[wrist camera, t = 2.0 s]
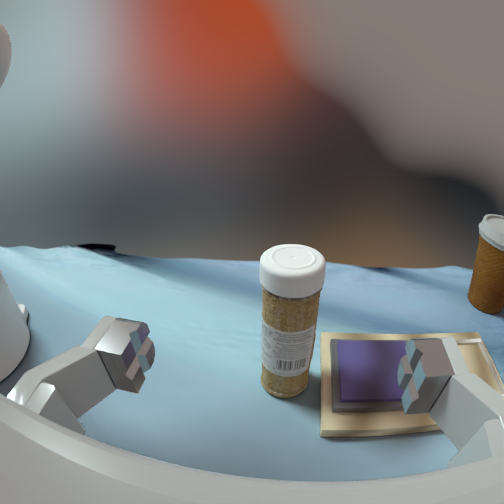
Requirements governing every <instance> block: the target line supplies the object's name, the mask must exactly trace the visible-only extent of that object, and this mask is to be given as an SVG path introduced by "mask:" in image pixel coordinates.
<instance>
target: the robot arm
mask: <svg viewBox="0 0 504 504" xmlns="http://www.w3.org/2000/svg"><path fill="white" fill-rule="evenodd" d="M10 61H11V42H10V39H9V35H8V33H7V31H6V29H5V28H4V26H3V25H2V24H1V23H0V88H1V86H2V84H3V82H4V80H5V78H6V76H7V73H8V70H9V66H10ZM27 316H28V310H27V309H26V307H25V305H22V304H17V302H16V300H15V299H14V297H13V295H12V293H11V291H10V289H9V287H8V285H7V283H6V281H5V279H4V277H3V275H2V273H1V271H0V381H2V380H3V379H4V378H6V377H7V376H8V375H9V374H10V373H11V372H12V371H13V370H14V369H15V368H16V367H17V365H18V364H19V363H20V361H21V360H22V358H23V357H24V355H25V353H26V350H27V348H28V345H29V339H30V334H29V329H28V327H27V324H26V320H27ZM149 332H150V331H149V328H148V325H147V324H146V323H144V322H139V321H133V320H128V319H123V318H116V317H111V316H105V317H103V318H102V319H101V320H100V322H99V323H98V324H97V326H96V327H95V328H94V329H93V331H92V332H91V333H90V335H89V336H88V337H87V339H86V340H85V341H84V343H83V344H82V345H81V346H78V345H77V346H75V347H73V348H72V349H70V350H68V351H66V352H64V353H62V354H60V355H58V356H56V357H54V358H52V359H50V360H48V361H46V362H44V363H42V364H40V365H38V366H36V367H34V368H32V369H30V370H28V371H26V372H25V373H24V374H23V375H22V377H21V378H20V379H19V381H18V382H17V383H16V385H15V386H14V388H13V389H12V390H11V392H10V393H9V394H8V396H7V397H5V396H4V395H2V394H0V504H504V397H503V396H502V395H500V394H499V393H498V392H497V391H495V390H494V389H493V388H492V387H491V386H489V385H488V384H487V383H486V382H484V381H483V380H482V379H481V378H479V377H478V376H477V375H475V374H474V373H470V372H469V370H468V368H467V365H466V363H465V361H464V358H463V356H462V354H461V352H460V349H459V347H458V345H457V343H456V341H455V339H454V338H453V337H439V338H421V339H410V340H409V341H408V342H407V345H406V347H405V349H406V353H407V354H406V355H405V356H403V357H402V358H401V360H400V363H399V366H398V373H397V376H398V384H399V387H400V388H401V389H402V390H403V391H404V393H403V395H402V397H401V399H402V403H403V408H404V413H405V415H406V414H421V413H429V415H430V417H431V418H432V419H433V420H434V421H435V423H436V424H437V425H438V426H439V427H440V429H441V430H442V431H443V432H444V433H445V435H446V436H447V437H448V438H449V439H450V441H451V442H452V443H453V444H454V446H455V447H456V448H457V449H458V450H459V452H458V453H457V454H456V455H455V456H454V457H453V458H452V459H451V460H450V461H449V462H448V464H447V466H448V468H447V469H443V470H438V471H433V472H427V473H421V474H415V475H408V476H401V477H393V478H383V479H372V480H358V481H288V480H273V479H262V478H252V477H244V476H236V475H229V474H223V473H217V472H211V471H206V470H200V469H195V468H190V467H186V466H181V465H177V464H173V463H169V462H165V461H161V460H157V459H153V458H150V457H146V456H143V455H139V454H136V453H133V452H130V451H126V450H123V449H120V448H117V447H114V446H112V445H109V444H106V443H103V442H100V441H98V440H95V439H92V438H90V437H87V436H85V435H84V433H85V429H84V427H83V426H82V424H81V423H80V422H79V420H78V419H77V418H79V417H80V416H81V415H83V414H84V413H86V412H87V411H88V410H90V409H91V408H92V407H94V406H95V405H96V404H98V403H99V402H100V401H102V400H103V399H104V398H106V397H107V396H108V395H110V394H111V393H112V392H114V391H115V390H116V389H120V390H125V391H129V392H134V393H138V392H139V390H140V388H141V386H142V384H143V382H144V380H145V376H144V372H146V371H147V370H149V369H150V368H151V366H152V364H153V362H154V356H155V348H154V344H153V342H152V341H151V340H150V339H149V338H148V337H147V336H148V334H149ZM115 388H116V389H115Z"/></svg>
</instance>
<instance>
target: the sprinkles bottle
mask: <svg viewBox="0 0 504 504" xmlns="http://www.w3.org/2000/svg"><path fill="white" fill-rule="evenodd" d="M325 266H326V263H325V259H324V257H323V255H322V254H321V253H319V252H318V251H317V250H315V249H313V248H310V247H307V246H304V245H296V244H285V245H279V246H275V247H272V248H271V249H268V250H267V251H265V252H264V253H263V255H262V256H261V259H260V282H261V286H262V290H263V292H262V295H263V297H262V302H263V309H262V375H261V383H262V386H263V388H264V389H265V390H266V391H267V392H269V393H270V394H272V395H274V396H276V397H281V398H286V397H288V398H289V397H293V396H296V395H298V394H300V393H301V392H303V391H304V389H305V388H306V387H307V385H308V380H309V376H308V373H309V368H310V362H311V359H312V355H313V349H314V342H315V336H316V334H315V330H316V323H317V314H318V306H319V297H320V291H321V290H322V286H323V284H324V278H325Z"/></svg>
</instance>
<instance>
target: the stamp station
mask: <svg viewBox="0 0 504 504" xmlns="http://www.w3.org/2000/svg"><path fill="white" fill-rule="evenodd" d="M439 337H453V338H454V339H455V341H456V343H457V345H458V347H459V349H460V352H461V354H462V356H463V358H464V361H465V363H466V365H467V368H468V370H469V372H470V373H474V374H475V375H477V376H478V377H479V378H481V379H482V380H483V381H484V382H486V383H487V384H488V385H489V386H491V387H492V388H493V389H494V390H495V391H497V392H498V393H499V394H500V395H502V396H503V397H504V385H503V383H502V381H501V378H500V376H499V374H498V372H497V369H496V367H495V365H494V363H493V361H492V359H491V357H490V355H489V353H488V351H487V349H486V347H485V345H484V343H483V341H482V339H481V337H480V335H479V333H478V332H468V333H442V334H357V333H328V332H322V333H321V338H320V355H321V420H320V437H361V436H383V435H397V434H408V433H418V432H426V431H434V430H441V429H440V427H439V426H438V425H437V424H436V423H435V421H434V420H433V419H432V418H431V417H430V415H429V413H421V414H406V415H405V413H404V408H403V403H402V399H401V397H402V395H403V393H404V391H403V390H402V389H401V388H400V387H399V384H398V376H397V373H398V366H399V363H400V360H401V358H402V357H403V356H405V355H406V354H407V353H406V349H405V347H406V345H407V342H408V341H409V340H410V339H421V338H439Z"/></svg>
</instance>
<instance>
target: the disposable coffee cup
mask: <svg viewBox="0 0 504 504" xmlns="http://www.w3.org/2000/svg"><path fill="white" fill-rule="evenodd" d="M479 229H480V230H479V232H480V237H479V244H478V250H477V255H476V260H475V265H474V270H473V274H472V279H471V284H470V288H469V292H468V299H469V301H470V302H471V304H472V305H473V306H474V307H476V308H477V309H479V310H480V311H483V312H485V313H489V314H496V313H499V312H500V311H501V309H502V308H503V306H504V217H503V216H500V215H493V214H489V215H486V216H484V218H483V220H482V222H481V223H480V224H479Z"/></svg>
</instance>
